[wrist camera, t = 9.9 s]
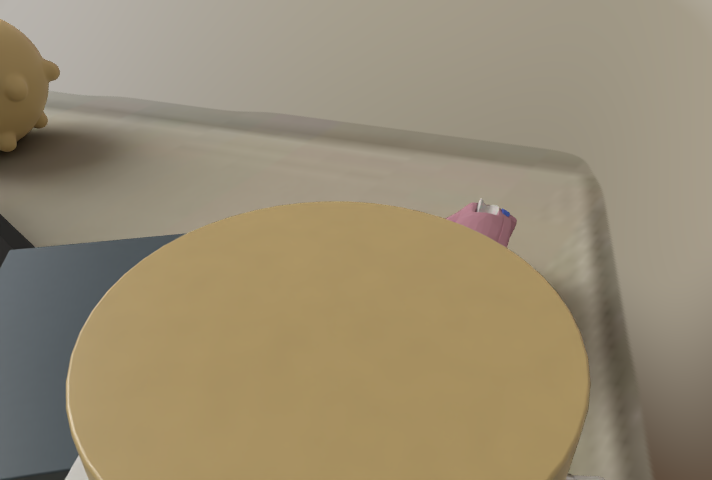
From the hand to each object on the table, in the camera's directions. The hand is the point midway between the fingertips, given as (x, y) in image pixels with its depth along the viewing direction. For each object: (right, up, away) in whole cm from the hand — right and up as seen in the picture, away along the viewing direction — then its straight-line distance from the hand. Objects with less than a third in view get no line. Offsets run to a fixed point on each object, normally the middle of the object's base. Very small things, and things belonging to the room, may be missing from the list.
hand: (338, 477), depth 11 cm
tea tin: (0, -5, +2) cm, 6 cm away
